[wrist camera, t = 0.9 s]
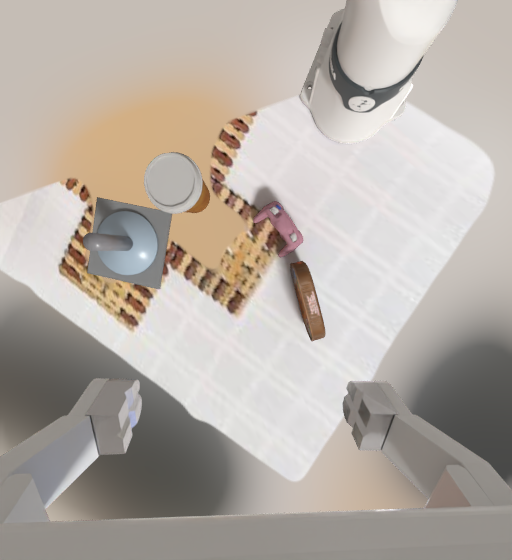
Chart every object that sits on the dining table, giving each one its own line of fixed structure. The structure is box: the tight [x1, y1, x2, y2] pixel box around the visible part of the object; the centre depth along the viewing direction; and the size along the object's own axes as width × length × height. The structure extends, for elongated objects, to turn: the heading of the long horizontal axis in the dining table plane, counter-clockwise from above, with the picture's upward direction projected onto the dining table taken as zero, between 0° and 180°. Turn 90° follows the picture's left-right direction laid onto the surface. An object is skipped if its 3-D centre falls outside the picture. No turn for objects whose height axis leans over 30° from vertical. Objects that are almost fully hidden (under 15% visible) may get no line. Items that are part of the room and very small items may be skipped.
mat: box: [87, 197, 172, 289], centre depth 55 cm, size 16×16×1 cm
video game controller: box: [253, 201, 303, 257], centre depth 50 cm, size 10×5×7 cm, turn 36°
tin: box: [290, 261, 325, 341], centre depth 49 cm, size 15×3×8 cm, turn 15°
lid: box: [83, 211, 158, 275], centre depth 50 cm, size 13×13×11 cm
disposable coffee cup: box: [144, 152, 210, 214], centre depth 47 cm, size 10×10×12 cm
